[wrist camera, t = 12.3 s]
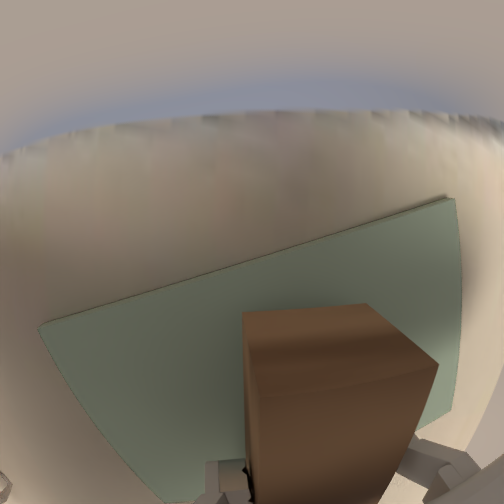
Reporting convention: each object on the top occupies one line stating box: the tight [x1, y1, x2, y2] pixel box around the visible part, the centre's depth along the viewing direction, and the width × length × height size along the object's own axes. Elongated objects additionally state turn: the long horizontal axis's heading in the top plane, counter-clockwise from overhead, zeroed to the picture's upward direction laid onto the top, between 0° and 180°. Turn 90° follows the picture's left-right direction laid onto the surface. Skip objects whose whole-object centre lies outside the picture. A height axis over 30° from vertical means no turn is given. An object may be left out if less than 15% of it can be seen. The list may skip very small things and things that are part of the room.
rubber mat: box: [37, 198, 462, 503], centre depth 13 cm, size 14×20×1 cm
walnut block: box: [242, 303, 439, 504], centre depth 9 cm, size 11×4×5 cm, turn 0°
